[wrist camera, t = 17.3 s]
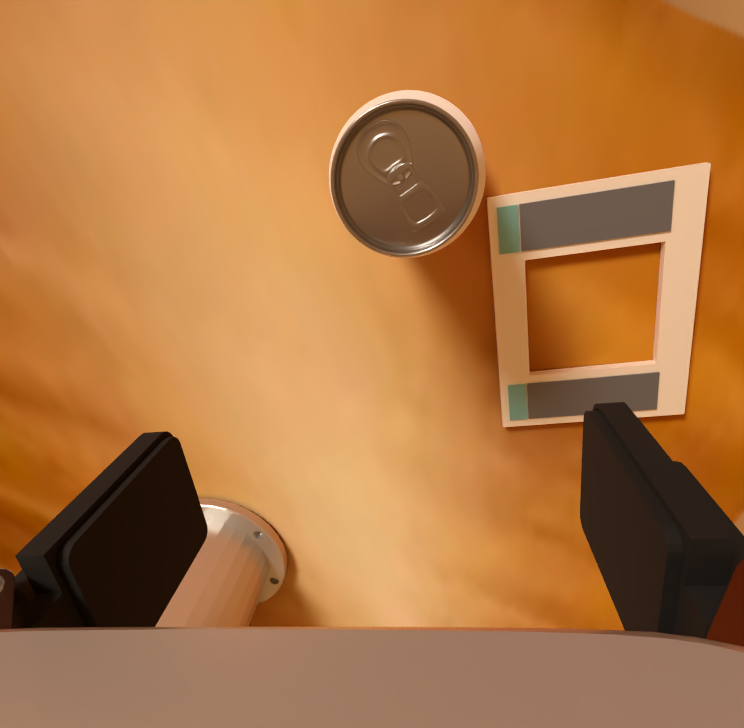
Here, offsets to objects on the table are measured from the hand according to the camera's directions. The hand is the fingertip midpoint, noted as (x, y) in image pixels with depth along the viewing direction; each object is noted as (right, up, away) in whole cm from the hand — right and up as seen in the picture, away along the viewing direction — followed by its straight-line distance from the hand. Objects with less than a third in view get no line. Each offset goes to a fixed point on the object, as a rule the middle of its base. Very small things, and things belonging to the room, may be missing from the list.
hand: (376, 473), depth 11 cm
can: (+3, +14, +18) cm, 23 cm away
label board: (+14, +6, +20) cm, 25 cm away
